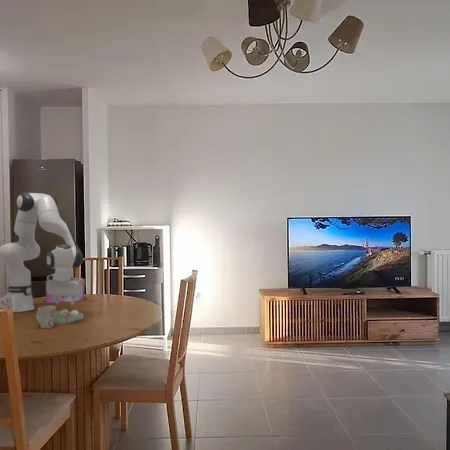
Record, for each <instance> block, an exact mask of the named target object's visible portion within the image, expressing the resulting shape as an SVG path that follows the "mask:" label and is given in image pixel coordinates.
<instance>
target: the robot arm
mask: <svg viewBox="0 0 450 450" xmlns="http://www.w3.org/2000/svg"><path fill="white" fill-rule="evenodd" d="M16 207H17V209H18V210H17V212H16V213H17V214H16V217H15V221H14V222H15V223H14V227H13V231H14V233H15V235H16V236H18V241H17V242H9V243H5V244H2V245H1V246H0V261H1V262H3V263H4V264H5V265H6V267H7V269H8V272H9V279H10V282H9V283H10V285H9V286H7V287H6V290H8V291H7V293H5V295H4V296H2V297H1V298H0V307H1V308H11V309H12V310H13V312H12V313H19V312H27V311H28V312H29V311H33V310H35V309H36V308H35V305H34V301H33V292H32V291H33V284H32V276H31V270H30V269H28V268H27V267H26V266H25V264H24V262H25V261H31V260H34V259H37V258H38V257H39V256H40V254H41V246H40V245H39V244H38V243H37V241H36V238H35V237H36V236H35V235H36V234H35V232H36V227H37V226H36V225H37V222H38V225H39V227H41V229H42V230H44V231H46V232H47V233H52V234H55V235H57V236H60V237H62V238H63V240H64V242H65V244H64V243H63V244H57V245H56V247H55V249H53V250H50V251H48V253H47V254H46V258H45V260H46V261H45V262H46V265H47V267H49V268H50V269H53V270H54V269H55V270H54V273H52V274H50V275H47V277H46V280H48V281H47V293H48V294H53V298H54V300H55V303H54V304H60V302H59V300H58V297H57V296H58V295H64V296H71V298H72V300H71V301H69V305H70V306H74V305H75V302H76V301H75V299H76V297H79V296H81V295H82V285H81V280H80V279H79V278H80V277H74V269H79V267H80V266H81V265H83V262H84V255H83V253H82V250H81V249H80V248H79V246H78V243H77V242H76V239H75V237H74V235H73V232H72V229H71V227H70V226H69V224H68V223H67V222H65V221H64V220H63V219H62V218H61V216H60V213H59V209H58V199H57V197H56V196H55V195H53V194H46V193H43V192H42V193H40V192H28V191H27V192H21V193H19V195H18V196H17V198H16Z"/></svg>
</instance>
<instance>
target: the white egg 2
mask: <svg viewBox="0 0 450 450" xmlns="http://www.w3.org/2000/svg"><path fill="white" fill-rule="evenodd" d="M69 312H70V315H74V316H76V315H79V313H80V312H79V311H78V310H76V309H73V310H71V311H69Z"/></svg>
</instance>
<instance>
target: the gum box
mask: <svg viewBox="0 0 450 450" xmlns="http://www.w3.org/2000/svg"><path fill="white" fill-rule="evenodd" d="M78 278H79V279H80V280H81V285H82V295H81V296H79V297H76V299H75V301H74V302H80V301H85V286H86V280H85V278H84V277H78ZM47 281H48V280H47V279H45V297H46V298H45V299H46V304H56V303H55V300H54V298H53V294H48V293H47ZM57 297H58V300H59V303H64V302H65V303H66V302H67V303H68V302H69V303H70V301H71V300H72V298H71V296H64V295H58V296H57Z"/></svg>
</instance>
